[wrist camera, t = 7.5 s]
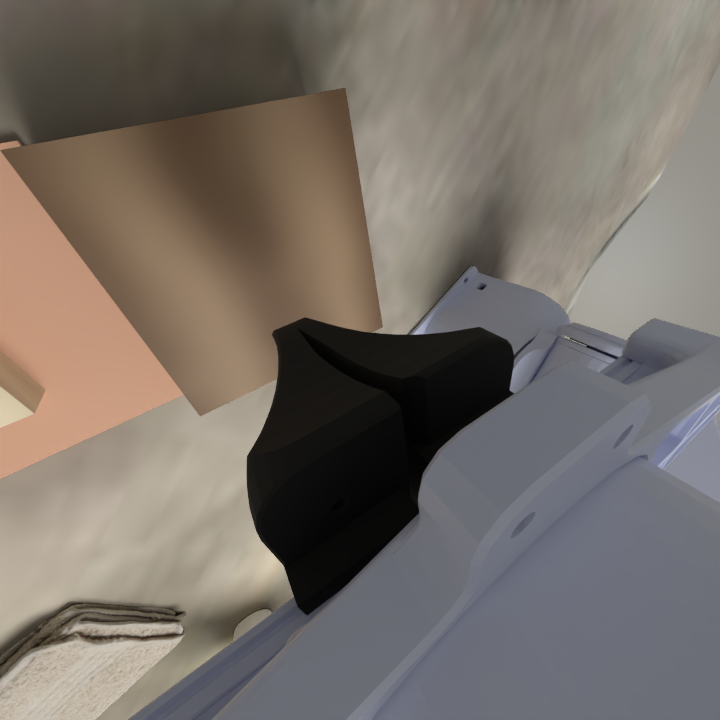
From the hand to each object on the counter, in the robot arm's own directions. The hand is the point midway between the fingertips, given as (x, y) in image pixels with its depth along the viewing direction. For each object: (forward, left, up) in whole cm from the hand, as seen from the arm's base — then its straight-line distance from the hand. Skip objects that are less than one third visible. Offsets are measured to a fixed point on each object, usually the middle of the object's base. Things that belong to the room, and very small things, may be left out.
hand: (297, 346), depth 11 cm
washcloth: (+36, +10, -10) cm, 38 cm away
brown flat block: (-1, -1, -9) cm, 9 cm away
